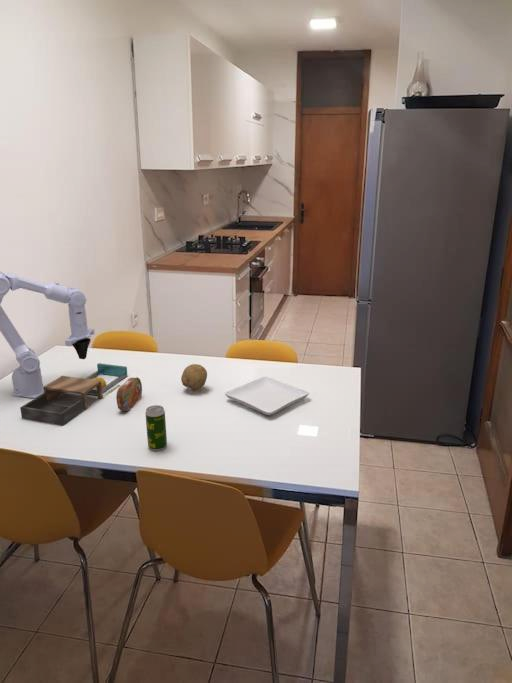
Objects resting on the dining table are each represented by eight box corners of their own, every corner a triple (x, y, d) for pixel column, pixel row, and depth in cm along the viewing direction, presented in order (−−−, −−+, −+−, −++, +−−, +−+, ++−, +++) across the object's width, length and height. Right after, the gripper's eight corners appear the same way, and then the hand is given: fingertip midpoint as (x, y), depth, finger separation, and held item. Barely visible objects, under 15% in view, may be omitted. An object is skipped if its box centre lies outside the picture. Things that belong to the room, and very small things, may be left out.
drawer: (69, 391, 189) (68, 381, 188) (99, 372, 206) (98, 363, 204) (99, 395, 185) (97, 385, 184) (127, 375, 202) (126, 366, 201)
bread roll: (109, 390, 191) (108, 379, 190) (83, 395, 187) (82, 384, 186) (103, 382, 198) (102, 372, 197) (78, 386, 194) (77, 376, 192)
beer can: (158, 440, 156) (156, 403, 152) (171, 446, 153) (168, 408, 149) (144, 447, 152) (141, 409, 148) (156, 453, 149) (153, 415, 145)
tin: (125, 415, 172) (122, 391, 169) (116, 414, 172) (113, 390, 170) (143, 396, 186) (141, 373, 183) (135, 395, 186) (133, 373, 183)
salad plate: (310, 400, 182) (311, 391, 181) (269, 422, 167) (269, 412, 166) (265, 383, 196) (265, 375, 195) (223, 402, 181) (222, 393, 180)
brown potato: (186, 397, 184) (184, 371, 181) (178, 388, 192) (177, 362, 188) (210, 393, 187) (210, 366, 184) (202, 384, 195) (201, 358, 192)
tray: (20, 418, 170) (17, 400, 168) (82, 380, 199) (80, 364, 197) (64, 425, 165) (61, 407, 163) (120, 385, 194) (118, 369, 192)
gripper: (75, 329, 182) (80, 366, 187) (99, 318, 195) (103, 352, 200) (58, 327, 184) (63, 364, 189) (83, 316, 197) (87, 351, 202)
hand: (82, 358), depth 194 cm, fingers closed
